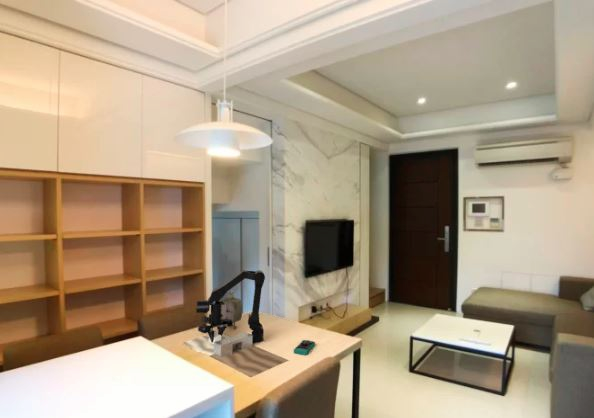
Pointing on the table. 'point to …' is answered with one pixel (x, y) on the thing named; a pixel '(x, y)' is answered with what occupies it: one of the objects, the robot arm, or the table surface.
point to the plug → (217, 338)
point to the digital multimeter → (304, 347)
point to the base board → (239, 356)
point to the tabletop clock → (231, 308)
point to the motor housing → (226, 345)
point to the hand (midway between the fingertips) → (215, 341)
